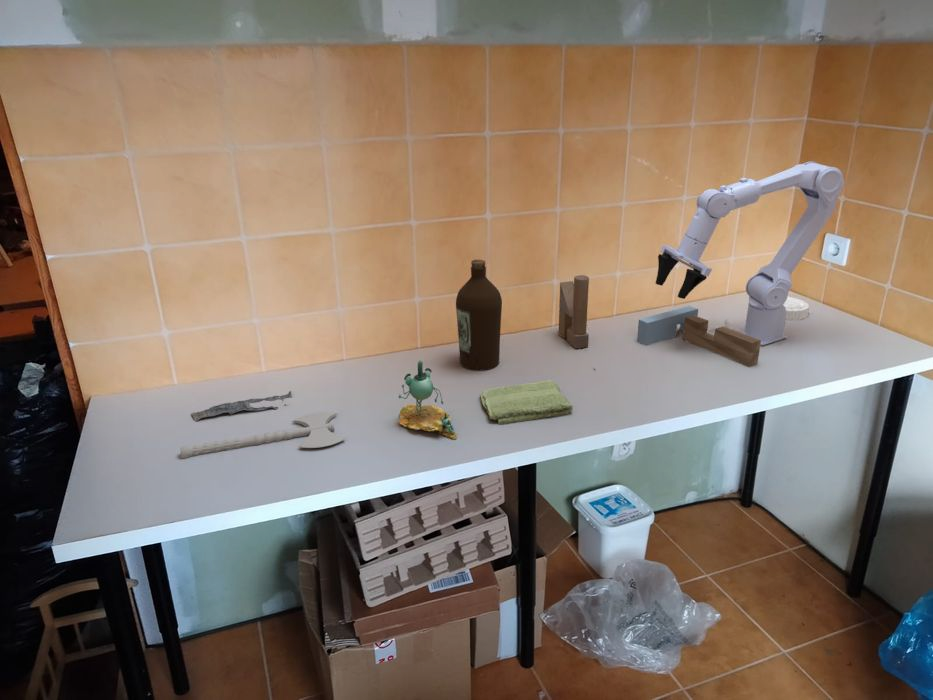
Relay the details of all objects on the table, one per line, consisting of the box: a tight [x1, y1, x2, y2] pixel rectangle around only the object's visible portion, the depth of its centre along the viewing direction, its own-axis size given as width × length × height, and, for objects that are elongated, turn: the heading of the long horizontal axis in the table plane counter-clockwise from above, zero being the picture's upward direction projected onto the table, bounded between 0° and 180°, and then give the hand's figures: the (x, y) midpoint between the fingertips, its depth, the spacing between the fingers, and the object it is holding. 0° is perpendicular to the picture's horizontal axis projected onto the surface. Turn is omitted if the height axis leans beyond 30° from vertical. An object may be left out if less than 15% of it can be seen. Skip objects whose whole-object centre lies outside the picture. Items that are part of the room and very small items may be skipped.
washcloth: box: [479, 379, 574, 425], centre depth 147 cm, size 13×18×3 cm
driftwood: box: [191, 390, 293, 422], centre depth 149 cm, size 21×7×2 cm, turn 106°
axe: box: [180, 411, 347, 459], centre depth 136 cm, size 30×14×2 cm, turn 108°
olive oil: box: [455, 259, 503, 371], centre depth 163 cm, size 11×11×25 cm
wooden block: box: [558, 274, 590, 350], centre depth 176 cm, size 4×11×18 cm, turn 17°
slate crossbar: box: [636, 305, 699, 346], centre depth 180 cm, size 18×3×6 cm, turn 122°
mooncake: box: [783, 295, 810, 321], centre depth 195 cm, size 12×12×4 cm
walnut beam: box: [682, 315, 761, 368], centre depth 171 cm, size 3×20×6 cm, turn 32°
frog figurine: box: [398, 360, 458, 440], centre depth 140 cm, size 10×18×15 cm, turn 29°
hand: (669, 291), depth 171 cm, fingers open, 7 cm apart
